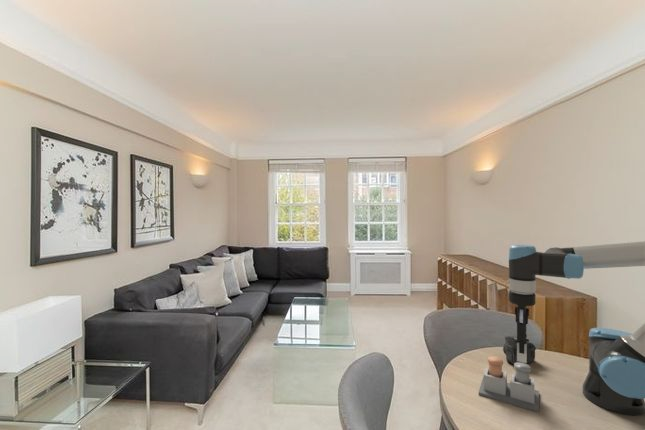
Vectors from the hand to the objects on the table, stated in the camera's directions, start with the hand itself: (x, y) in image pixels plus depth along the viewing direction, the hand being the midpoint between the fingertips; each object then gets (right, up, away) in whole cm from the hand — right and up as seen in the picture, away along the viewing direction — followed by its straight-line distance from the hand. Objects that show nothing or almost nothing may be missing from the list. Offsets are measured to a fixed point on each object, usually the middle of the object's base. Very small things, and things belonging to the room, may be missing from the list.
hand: (521, 361), depth 105 cm
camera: (+15, -12, +25) cm, 32 cm away
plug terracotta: (-6, -8, +5) cm, 11 cm away
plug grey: (0, -8, 0) cm, 8 cm away
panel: (-3, -12, +2) cm, 13 cm away
